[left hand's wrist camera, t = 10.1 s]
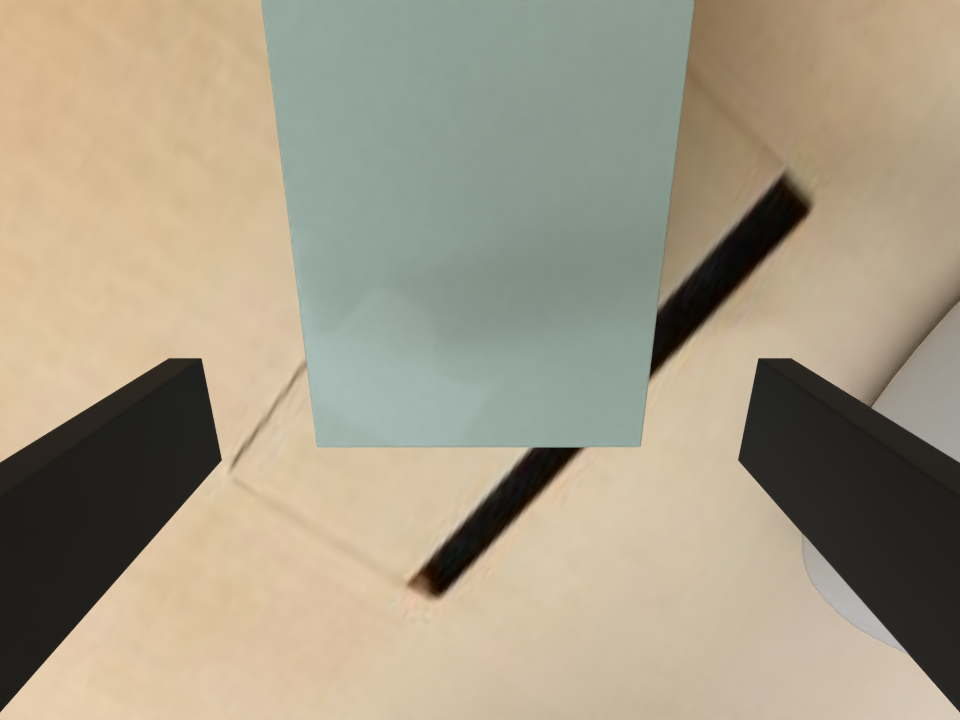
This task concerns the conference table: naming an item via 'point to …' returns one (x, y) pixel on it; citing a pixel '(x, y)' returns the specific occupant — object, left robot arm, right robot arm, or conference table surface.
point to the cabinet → (478, 212)
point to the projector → (927, 414)
